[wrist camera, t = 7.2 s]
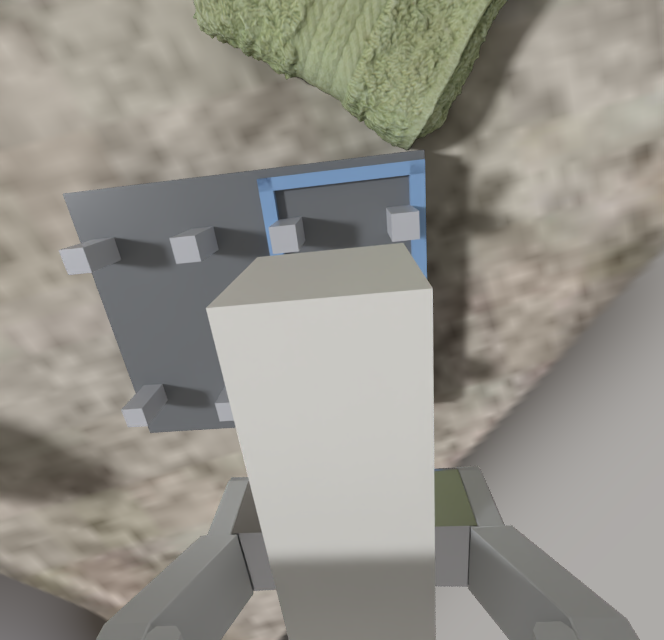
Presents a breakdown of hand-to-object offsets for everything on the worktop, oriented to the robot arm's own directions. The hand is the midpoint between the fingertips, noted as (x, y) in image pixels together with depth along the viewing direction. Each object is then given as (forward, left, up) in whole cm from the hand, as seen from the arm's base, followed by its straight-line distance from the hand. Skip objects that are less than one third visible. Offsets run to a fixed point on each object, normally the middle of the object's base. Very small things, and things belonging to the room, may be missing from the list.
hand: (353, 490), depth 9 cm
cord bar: (0, 0, -1) cm, 1 cm away
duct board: (0, -5, -14) cm, 15 cm away
